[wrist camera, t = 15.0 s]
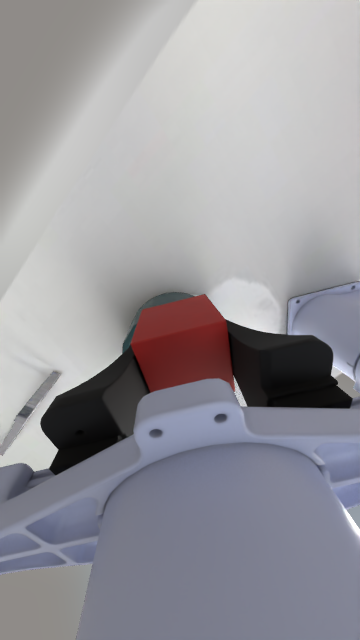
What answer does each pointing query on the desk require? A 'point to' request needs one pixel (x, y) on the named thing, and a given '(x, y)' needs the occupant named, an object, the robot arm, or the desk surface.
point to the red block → (182, 344)
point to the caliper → (28, 411)
